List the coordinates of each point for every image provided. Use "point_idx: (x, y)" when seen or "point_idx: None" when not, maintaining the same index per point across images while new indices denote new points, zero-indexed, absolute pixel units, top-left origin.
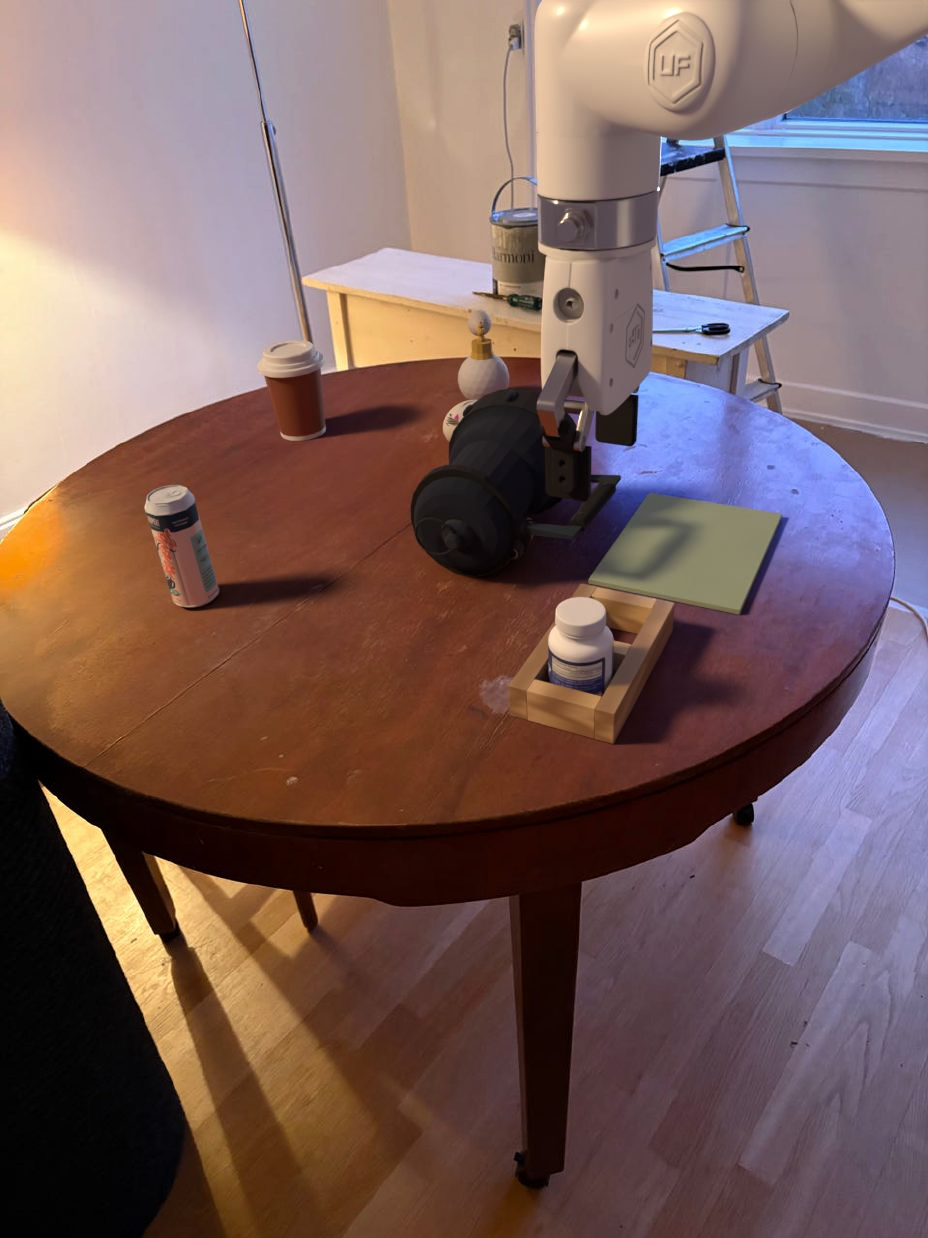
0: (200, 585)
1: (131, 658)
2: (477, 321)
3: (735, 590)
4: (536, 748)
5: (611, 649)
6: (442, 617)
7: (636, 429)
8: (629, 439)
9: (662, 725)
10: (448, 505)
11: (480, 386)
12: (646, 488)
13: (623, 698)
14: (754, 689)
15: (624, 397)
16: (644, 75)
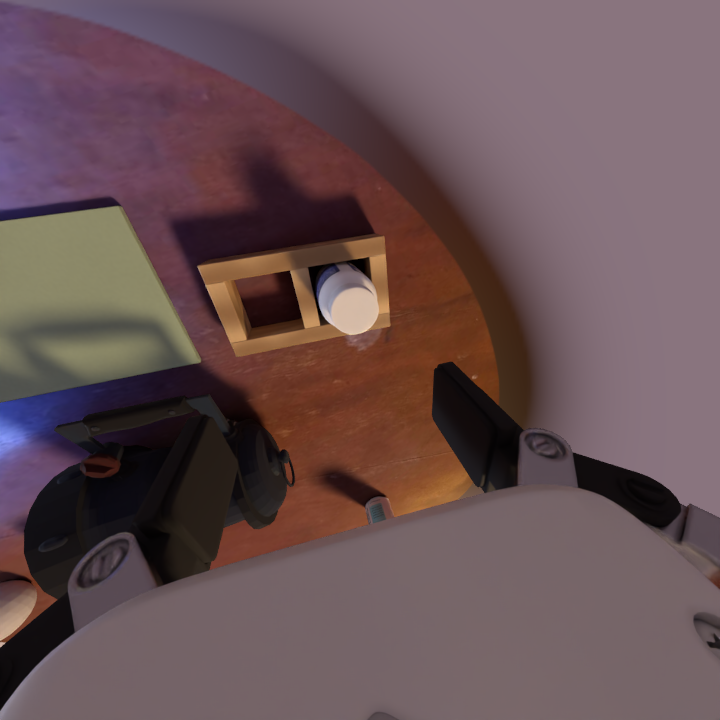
0: (384, 508)
1: (427, 484)
2: None
3: (85, 227)
4: (402, 282)
5: (343, 270)
6: (315, 411)
7: (181, 437)
8: (209, 427)
9: (334, 206)
10: (275, 487)
11: (14, 604)
12: None
13: (361, 239)
14: (233, 136)
15: (454, 526)
16: None
